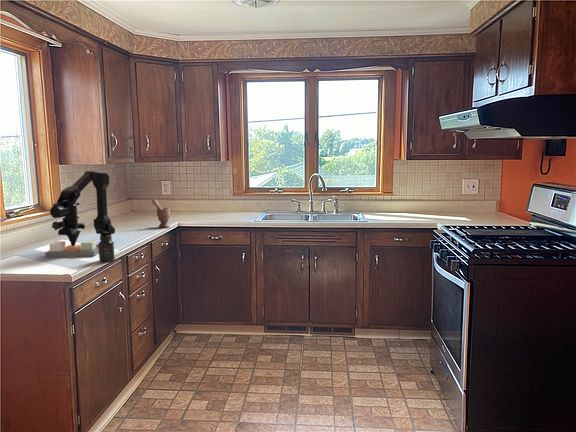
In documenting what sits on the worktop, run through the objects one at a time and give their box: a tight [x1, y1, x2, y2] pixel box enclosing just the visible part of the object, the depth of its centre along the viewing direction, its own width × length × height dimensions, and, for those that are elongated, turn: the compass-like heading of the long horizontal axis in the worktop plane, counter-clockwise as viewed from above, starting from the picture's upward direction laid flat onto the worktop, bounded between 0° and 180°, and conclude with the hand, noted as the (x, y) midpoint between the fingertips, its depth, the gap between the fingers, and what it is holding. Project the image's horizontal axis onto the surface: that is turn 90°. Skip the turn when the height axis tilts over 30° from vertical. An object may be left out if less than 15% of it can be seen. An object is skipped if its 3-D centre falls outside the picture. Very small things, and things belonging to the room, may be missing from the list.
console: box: [44, 246, 99, 259], centre depth 222 cm, size 10×23×2 cm, turn 95°
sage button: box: [80, 240, 97, 251], centre depth 222 cm, size 5×5×4 cm
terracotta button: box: [65, 244, 81, 251], centre depth 222 cm, size 5×5×4 cm
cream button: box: [48, 240, 67, 252], centre depth 221 cm, size 5×5×4 cm
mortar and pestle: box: [151, 198, 171, 229], centre depth 297 cm, size 12×9×20 cm
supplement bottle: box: [97, 235, 116, 263], centre depth 210 cm, size 7×7×12 cm
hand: (73, 245), depth 222 cm, fingers closed, pressing on terracotta button
